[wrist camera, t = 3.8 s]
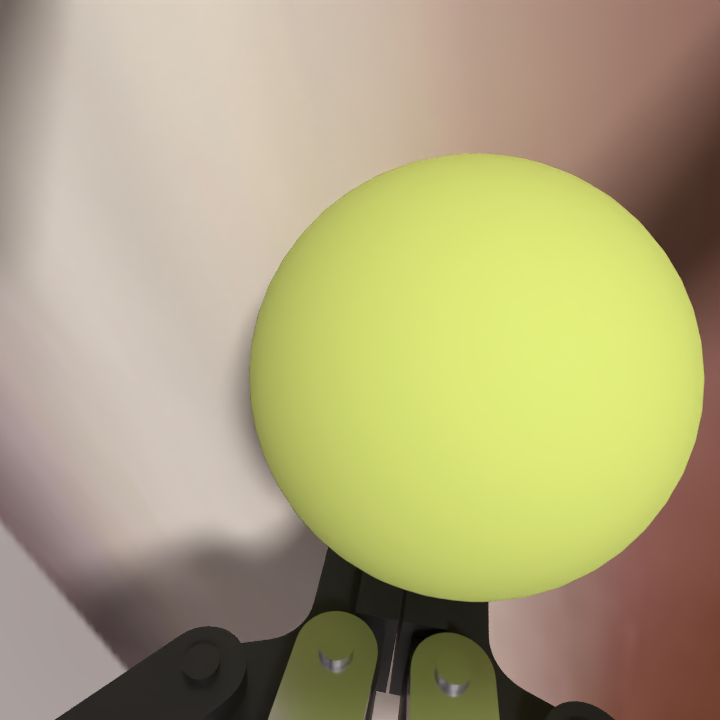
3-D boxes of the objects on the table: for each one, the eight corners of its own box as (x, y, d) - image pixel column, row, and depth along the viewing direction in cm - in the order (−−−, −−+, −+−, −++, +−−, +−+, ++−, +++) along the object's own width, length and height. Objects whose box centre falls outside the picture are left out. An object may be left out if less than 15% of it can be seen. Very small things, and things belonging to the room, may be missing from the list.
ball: (269, 506, 12) (318, 203, 12) (582, 561, 11) (629, 246, 12) (133, 631, 6) (237, 22, 6) (784, 759, 5) (875, 97, 6)
